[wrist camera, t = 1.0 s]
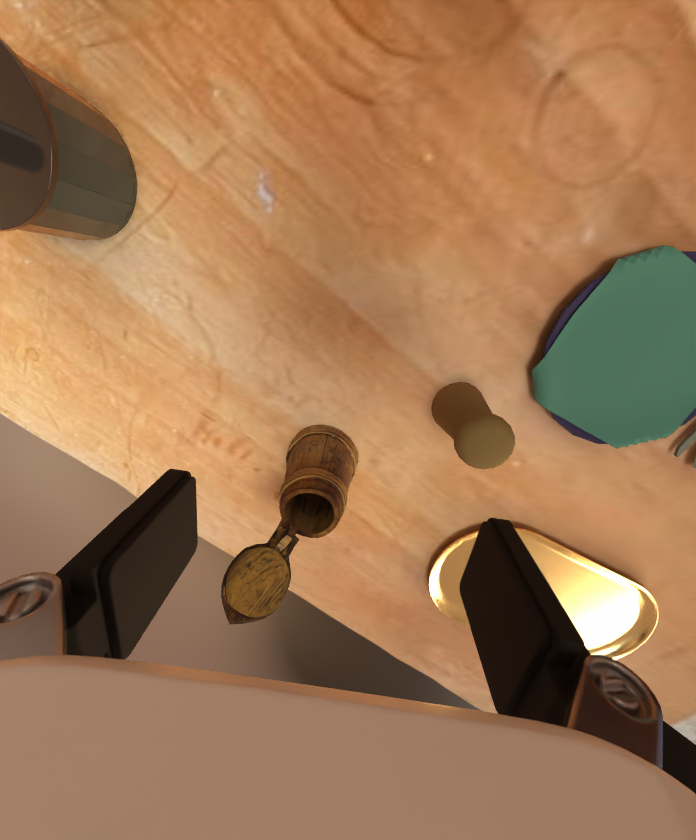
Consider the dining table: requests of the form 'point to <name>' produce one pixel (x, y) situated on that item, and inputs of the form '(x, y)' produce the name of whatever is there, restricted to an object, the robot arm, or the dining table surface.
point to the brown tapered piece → (473, 426)
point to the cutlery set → (626, 353)
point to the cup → (84, 168)
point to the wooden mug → (292, 521)
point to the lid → (24, 145)
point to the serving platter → (562, 593)
